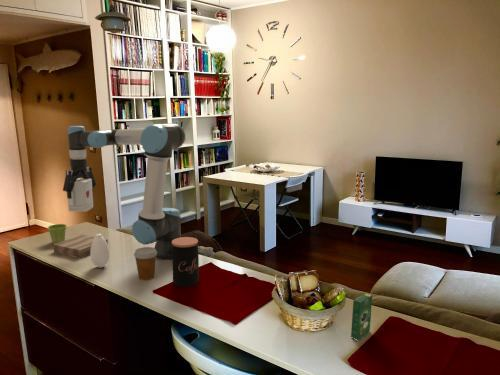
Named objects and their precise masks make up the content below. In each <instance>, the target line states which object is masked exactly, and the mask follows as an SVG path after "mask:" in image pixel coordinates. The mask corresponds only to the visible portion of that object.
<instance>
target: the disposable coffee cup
mask: <svg viewBox="0 0 500 375" xmlns="http://www.w3.org/2000/svg"><path fill="white" fill-rule="evenodd" d="M156 255H157V251H156V249H155V247H152V246H151V247H150V246H146V247H145V246H144V247H140V248H136V249H135V251H134V253H133V256H134V258H135V264H136V267H137V269H136V270H137V273H138V278H139V280H142V281H149V280H153V279H154V278H155V270H156V261H157V258H156Z"/></svg>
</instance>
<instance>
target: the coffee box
mask: <svg viewBox="0 0 500 375" xmlns="http://www.w3.org/2000/svg"><path fill="white" fill-rule="evenodd" d="M352 302H353V303H352V316H351V317H352V318H351V328H350V329H351V333H350V338H351V337H353V338H355V339H357V340H359V339H360V338H361V337H362V338H364V337H365V336H366V335H367V334H368V332H369V331H370V330H371V319H372V317H371V316H372V304H373V294H371V293H367V292H364V293H363V294H361V295H359V296H358V297H356V298H355V299H353V301H352ZM370 332H371V331H370ZM370 332H369V333H370ZM365 334H366V335H365ZM364 335H365V336H364ZM363 336H364V337H363ZM362 338H361V339H362ZM361 339H360V340H361ZM360 340H359V341H360Z"/></svg>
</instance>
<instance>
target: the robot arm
mask: <svg viewBox="0 0 500 375" xmlns="http://www.w3.org/2000/svg"><path fill="white" fill-rule="evenodd" d="M67 136H68V150H69V158H70V159H69V165H70V167H71V169H70V170H65V178H64V183H63V187H62V191H63V192H66V196H67V201H68V200H69V205H74V196H73V192H72V189H73V187H74V182H75V181H76V180H77V179H78V178H83V179H92V193H93V194H94V188H95V186H96V185H97V182H96V180H95V177H94V174H93V168H92V167H90V166H88V162H87V160H88V158H87V148H94V149H98V148H99V149H101V148H104V147H107V146H125V145H131V146H134V145H135V146H137V145H139V146H142V150H144V156H146V158H147V159H146V160H147V161H146V170H145V172H146V173H145V179H144V180H145V182H144V191H143V192H144V193H143V202H142V209H141V210H140V211H138V214H137V215H138V216H137V218H138V219H137V220H135V221H134V222H133V224H132V225H131V233H132V235H133V237H134V239H135V240H136V241H137V242H138V243H139V244H142V245H150V244H153V243H155V245H154V248H155V249H156V251H157V255H156V259H160V260H172V246H173V245H172V240H174V239H176V238H180V237H182V234H181V230H182V229H181V228H182V226H181V218H182V216H181V210H179V209H177V208H172V207H164V206H163V205H164V199H165V198H164V197H165V187H166V179H167V178H166V177H167V169H168V162H169V160H170V159H171V158H172V157H173V150H177V149H179V148H181V147H182V145H184V143H185V141H186V132H185V130H184V128H183V127H182V126H181V125H179V124H177V123H172V122H171V123H154V124H150V125H148V126H146V127H145V128H126V129H125V128H124V129H122V128H121V129H117V128H115V129H114V128H113V129H108V130H107V129H106V130H105V129H104V130H86V129H85V126H83V125H70V126H68V128H67ZM70 181H71V182H70Z"/></svg>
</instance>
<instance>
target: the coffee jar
mask: <svg viewBox="0 0 500 375" xmlns="http://www.w3.org/2000/svg"><path fill="white" fill-rule="evenodd" d="M198 243H199V240H198V238H196V237H191V236H181V237H180V238H176V239H174V240H172V245H173V246H172V259H171V267H172V270H171V271H172V282H173V284H174V286H176V285H177V287H179V286H180V288H190V286H191V287H193V285H194V286H196V285H195V284H198V282H199V280H200V278H199V277H200V272H199V271H200V270H199V268H200V266H199V265H200V264H199V263H200V262H199V259H200V258H199V245H198Z"/></svg>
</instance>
